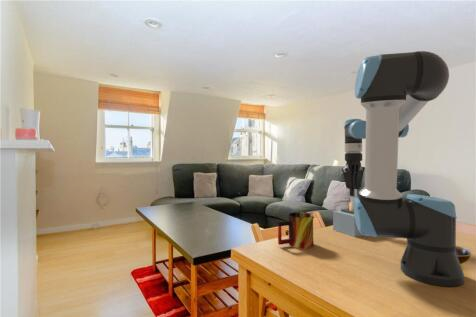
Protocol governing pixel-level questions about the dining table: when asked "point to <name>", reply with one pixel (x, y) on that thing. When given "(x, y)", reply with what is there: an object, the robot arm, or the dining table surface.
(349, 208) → the peg
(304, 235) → the mug
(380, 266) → the dining table surface
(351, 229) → the socket block
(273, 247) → the dining table surface
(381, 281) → the dining table surface
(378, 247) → the dining table surface
